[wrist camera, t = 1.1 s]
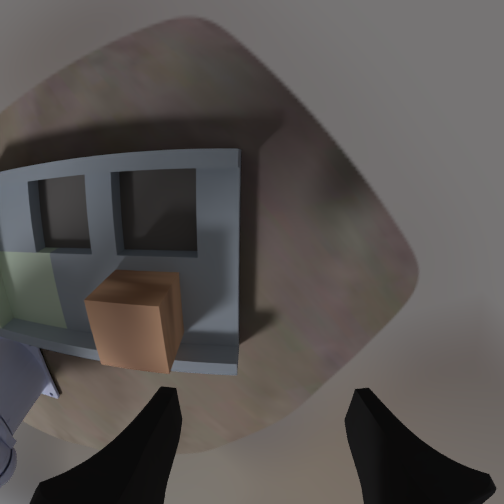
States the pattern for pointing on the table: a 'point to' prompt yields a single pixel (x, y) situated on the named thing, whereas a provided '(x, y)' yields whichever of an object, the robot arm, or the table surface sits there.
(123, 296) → the block
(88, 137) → the table surface
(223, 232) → the tray
